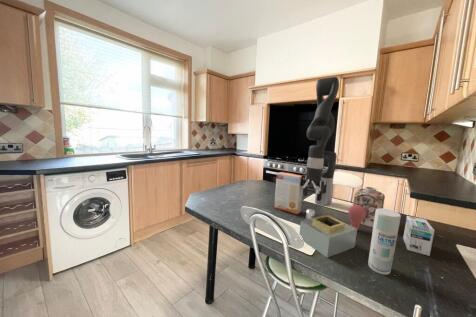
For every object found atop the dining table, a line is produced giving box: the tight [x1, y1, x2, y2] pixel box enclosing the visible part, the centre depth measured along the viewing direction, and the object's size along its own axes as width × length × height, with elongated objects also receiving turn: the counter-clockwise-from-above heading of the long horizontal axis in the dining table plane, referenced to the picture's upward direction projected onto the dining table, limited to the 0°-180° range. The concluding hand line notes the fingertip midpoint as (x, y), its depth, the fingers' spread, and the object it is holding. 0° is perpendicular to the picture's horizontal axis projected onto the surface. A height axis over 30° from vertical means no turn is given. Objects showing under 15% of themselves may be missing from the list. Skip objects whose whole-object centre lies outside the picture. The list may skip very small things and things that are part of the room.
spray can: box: [367, 208, 402, 276], centre depth 65 cm, size 6×6×20 cm
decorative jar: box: [352, 186, 386, 229], centre depth 99 cm, size 12×12×18 cm
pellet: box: [305, 208, 316, 220], centre depth 100 cm, size 4×4×5 cm
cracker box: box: [273, 171, 303, 215], centre depth 110 cm, size 14×6×21 cm, turn 51°
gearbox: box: [299, 214, 358, 258], centre depth 80 cm, size 16×14×9 cm
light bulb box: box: [402, 215, 435, 257], centre depth 79 cm, size 11×7×11 cm, turn 148°
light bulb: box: [347, 204, 366, 231], centre depth 91 cm, size 7×7×12 cm
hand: (311, 197), depth 99 cm, fingers open, 8 cm apart
